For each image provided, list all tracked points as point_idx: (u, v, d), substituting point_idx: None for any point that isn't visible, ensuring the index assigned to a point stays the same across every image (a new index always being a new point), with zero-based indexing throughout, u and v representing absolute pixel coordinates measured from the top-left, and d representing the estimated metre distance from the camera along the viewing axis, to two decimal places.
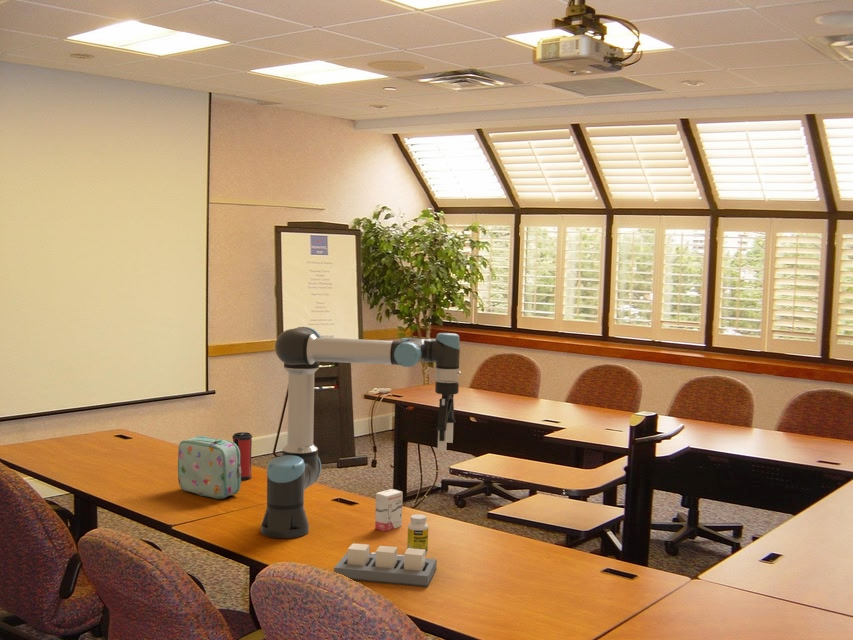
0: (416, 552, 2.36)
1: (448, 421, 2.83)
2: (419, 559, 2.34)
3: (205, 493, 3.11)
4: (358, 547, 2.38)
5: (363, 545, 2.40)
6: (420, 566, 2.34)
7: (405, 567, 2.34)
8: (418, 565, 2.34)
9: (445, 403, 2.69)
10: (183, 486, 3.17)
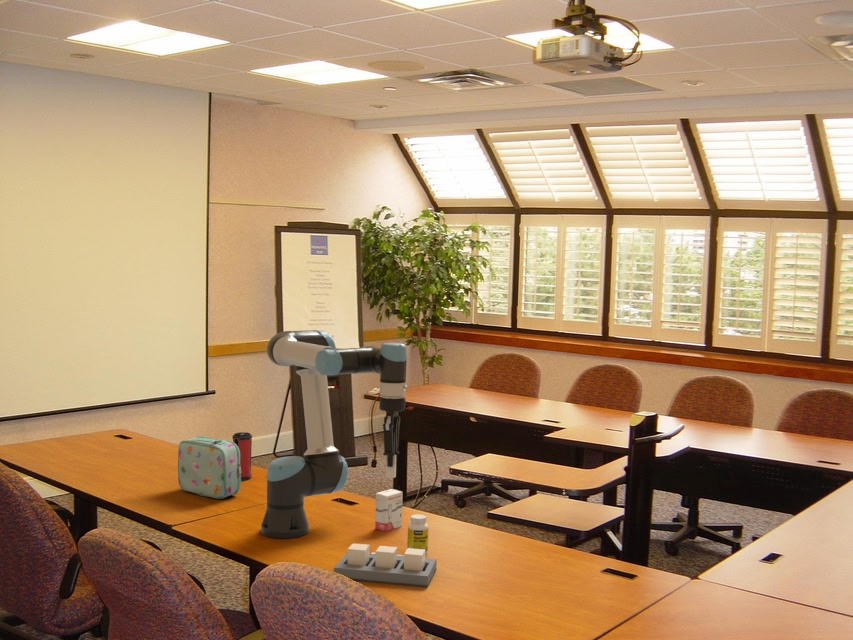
0: (416, 552, 2.36)
1: None
2: (419, 559, 2.34)
3: (205, 493, 3.11)
4: (358, 547, 2.38)
5: (363, 545, 2.40)
6: (420, 566, 2.34)
7: (405, 567, 2.34)
8: (418, 565, 2.34)
9: (389, 429, 2.42)
10: (183, 486, 3.17)
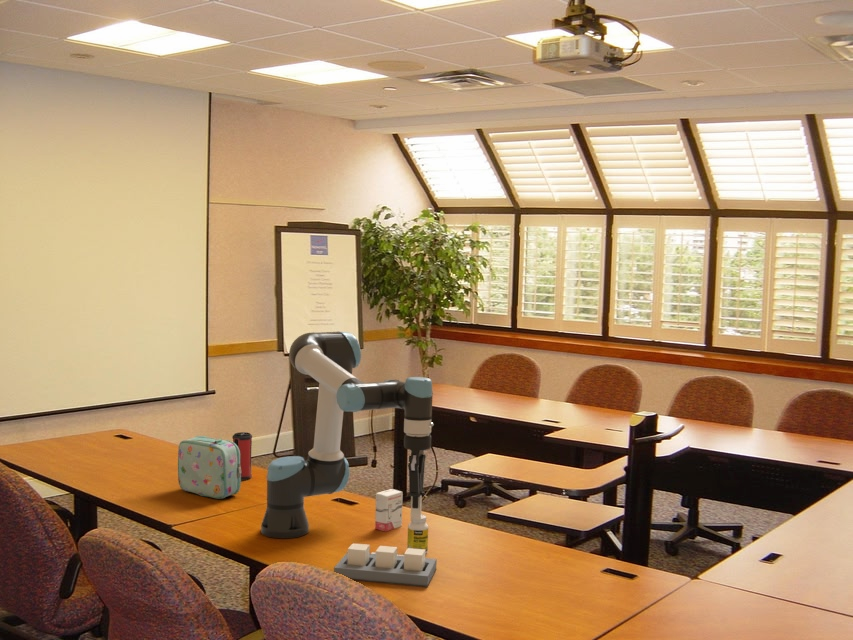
0: (416, 552, 2.36)
1: None
2: (419, 559, 2.34)
3: (205, 493, 3.11)
4: (358, 547, 2.38)
5: (363, 545, 2.40)
6: (420, 566, 2.34)
7: (405, 567, 2.34)
8: (418, 565, 2.34)
9: (415, 469, 2.29)
10: (183, 486, 3.17)
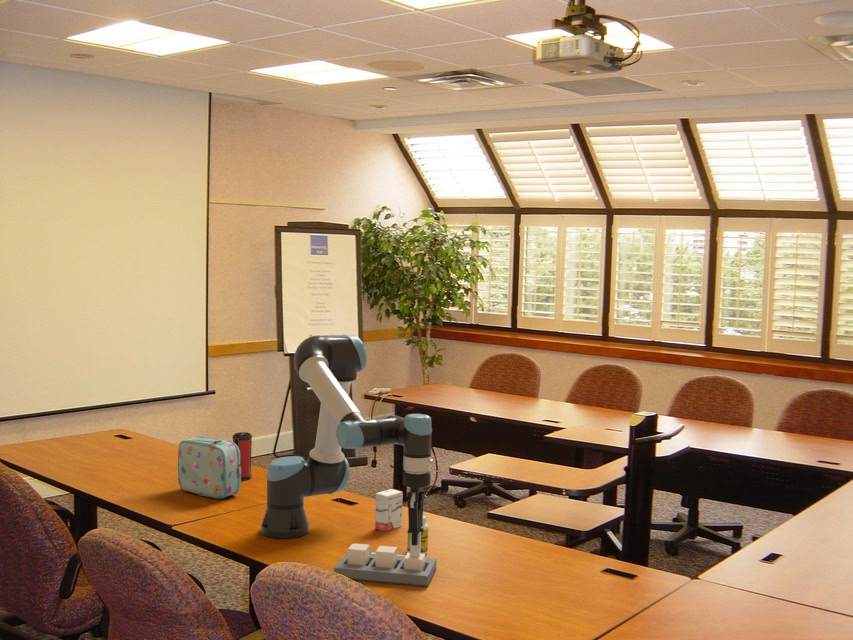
0: (415, 556, 2.36)
1: None
2: (418, 563, 2.34)
3: (205, 493, 3.11)
4: (358, 547, 2.38)
5: (363, 545, 2.40)
6: None
7: None
8: (418, 570, 2.34)
9: (414, 507, 2.30)
10: (183, 486, 3.17)
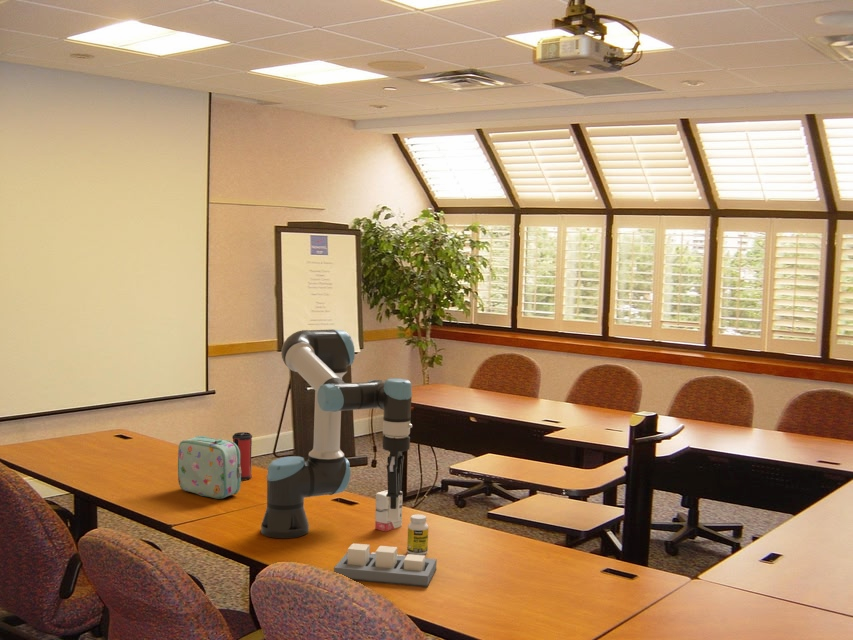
0: (415, 558, 2.36)
1: None
2: (418, 565, 2.34)
3: (205, 493, 3.11)
4: (358, 547, 2.38)
5: (363, 545, 2.40)
6: None
7: None
8: None
9: (394, 470, 2.31)
10: (183, 486, 3.17)
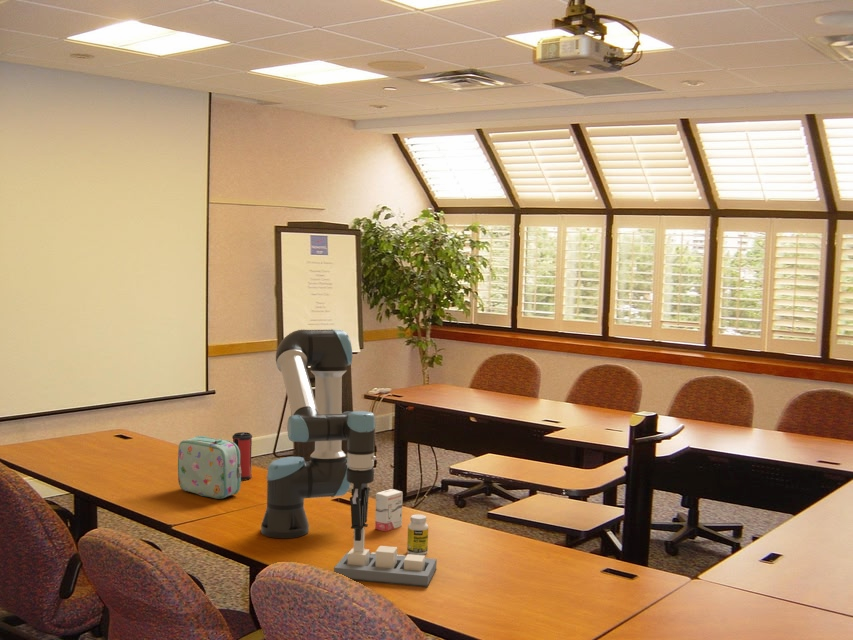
0: (415, 558, 2.36)
1: None
2: (418, 565, 2.34)
3: (205, 493, 3.11)
4: (357, 552, 2.38)
5: None
6: None
7: None
8: None
9: (357, 503, 2.32)
10: (183, 486, 3.17)
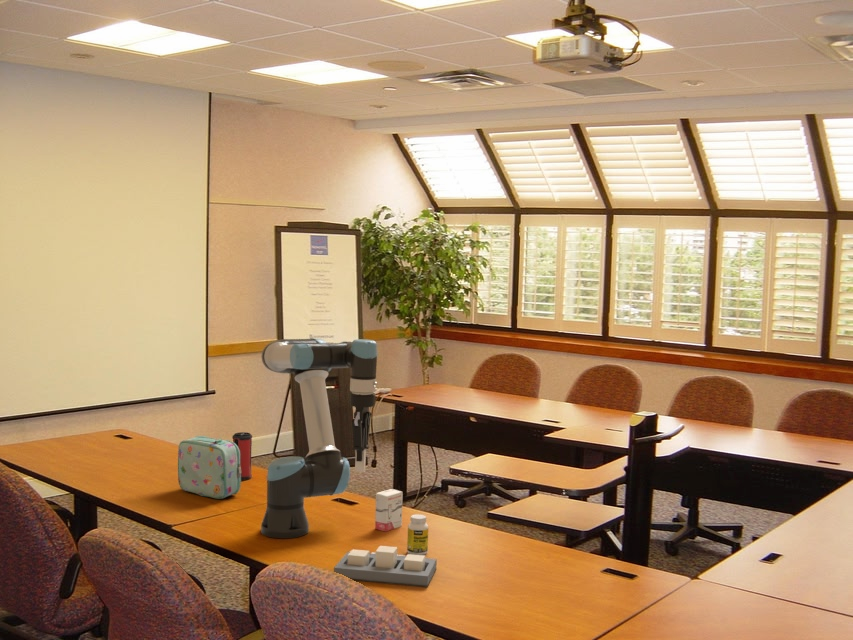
0: (415, 558, 2.36)
1: None
2: (418, 565, 2.34)
3: (205, 493, 3.11)
4: (357, 553, 2.38)
5: (363, 551, 2.40)
6: None
7: None
8: None
9: (358, 425, 2.46)
10: (183, 486, 3.17)
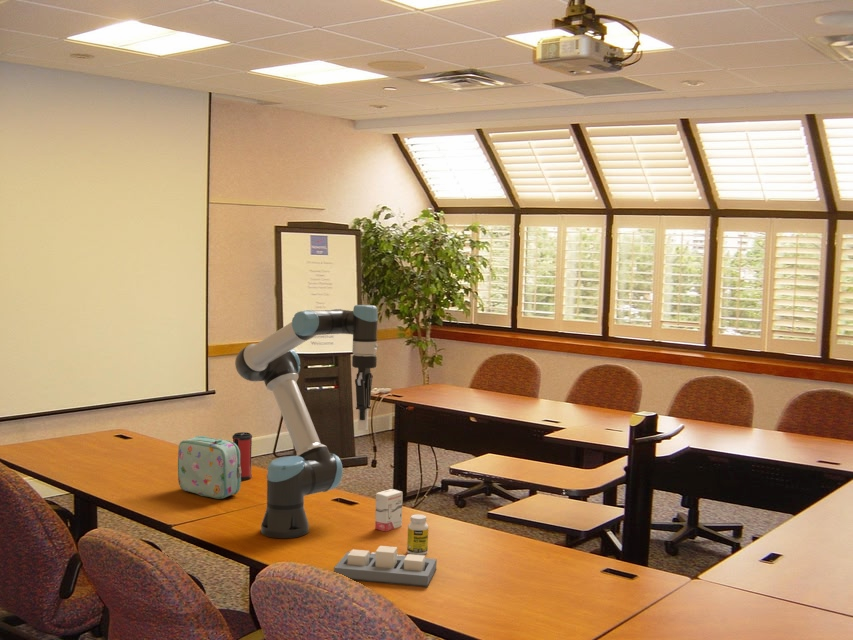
0: (415, 558, 2.36)
1: None
2: (418, 565, 2.34)
3: (205, 493, 3.11)
4: (357, 553, 2.38)
5: (363, 551, 2.40)
6: None
7: None
8: None
9: (361, 384, 2.61)
10: (183, 486, 3.17)
